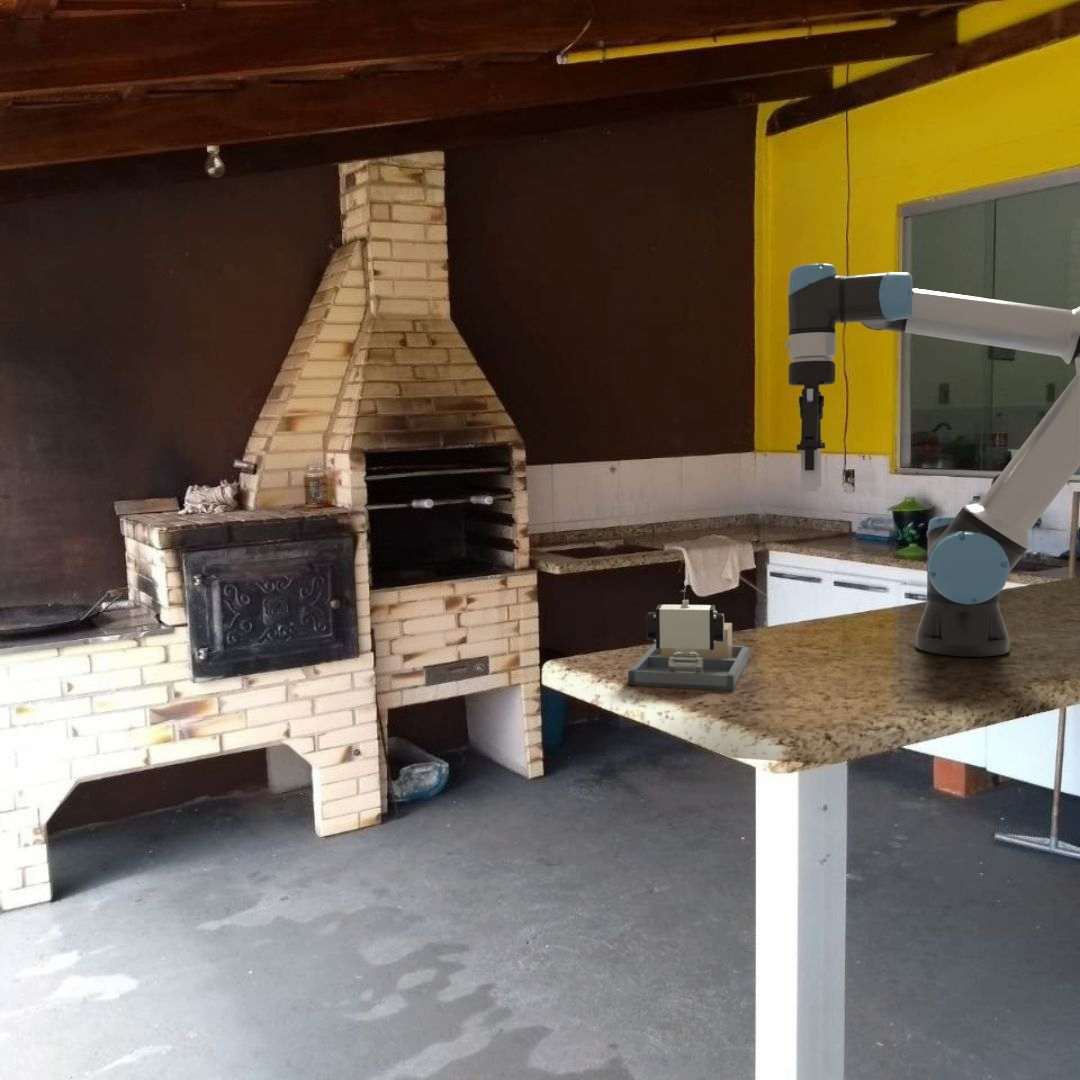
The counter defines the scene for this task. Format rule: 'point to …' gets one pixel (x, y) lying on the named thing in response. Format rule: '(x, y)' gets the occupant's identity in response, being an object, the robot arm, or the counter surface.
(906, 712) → the counter surface
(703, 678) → the bay tray
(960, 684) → the counter surface
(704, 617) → the pneumatic valve
